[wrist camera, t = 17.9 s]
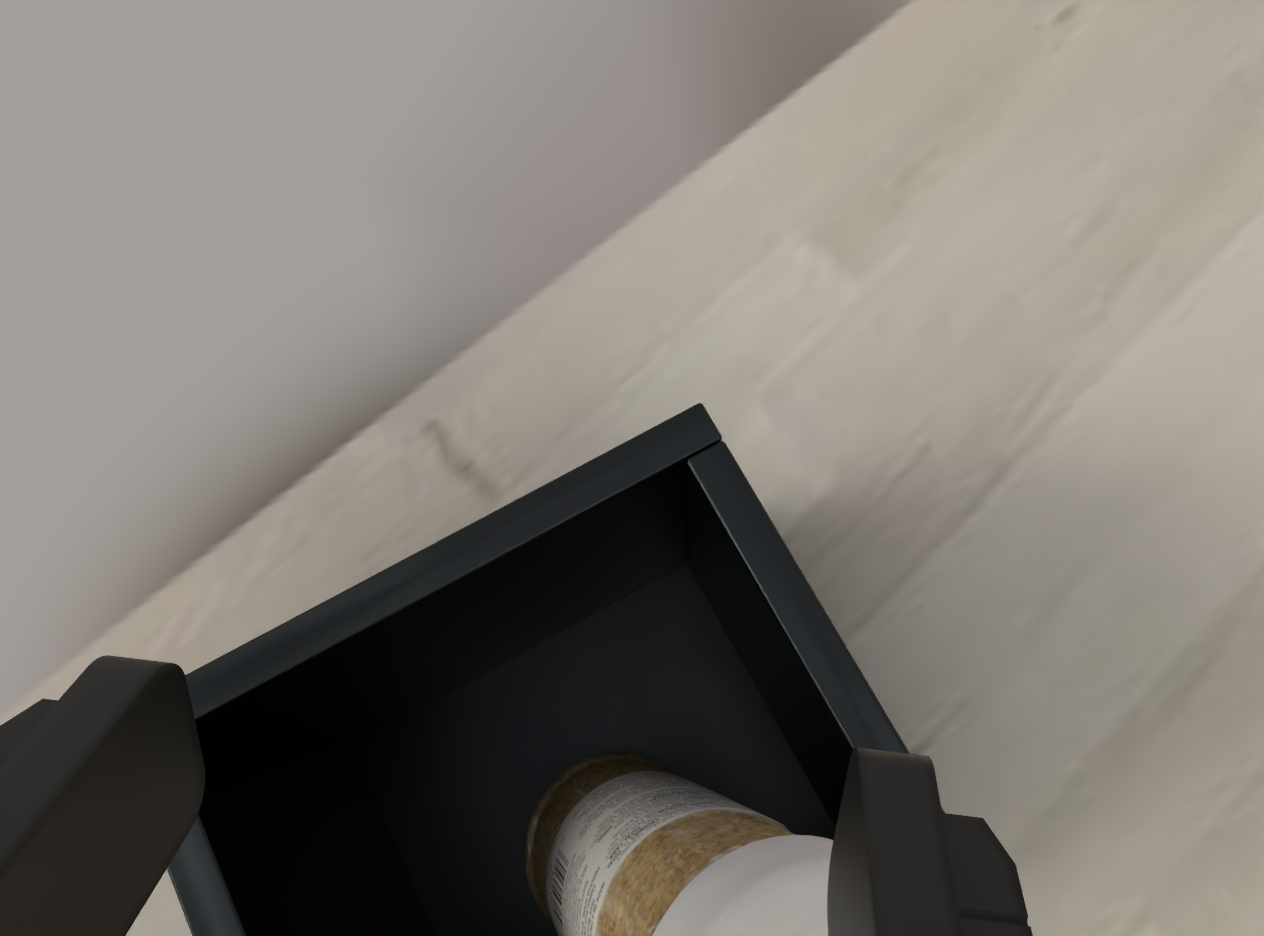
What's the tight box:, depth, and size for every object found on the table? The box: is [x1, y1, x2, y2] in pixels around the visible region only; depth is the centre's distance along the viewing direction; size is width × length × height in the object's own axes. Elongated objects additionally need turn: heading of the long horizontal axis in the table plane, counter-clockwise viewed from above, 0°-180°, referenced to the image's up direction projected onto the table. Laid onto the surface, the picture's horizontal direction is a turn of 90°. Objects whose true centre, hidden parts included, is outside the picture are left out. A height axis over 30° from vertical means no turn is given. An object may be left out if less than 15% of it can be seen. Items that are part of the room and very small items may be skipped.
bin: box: [167, 403, 945, 936], centre depth 22 cm, size 12×12×10 cm
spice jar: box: [524, 753, 833, 936], centre depth 19 cm, size 5×5×13 cm
